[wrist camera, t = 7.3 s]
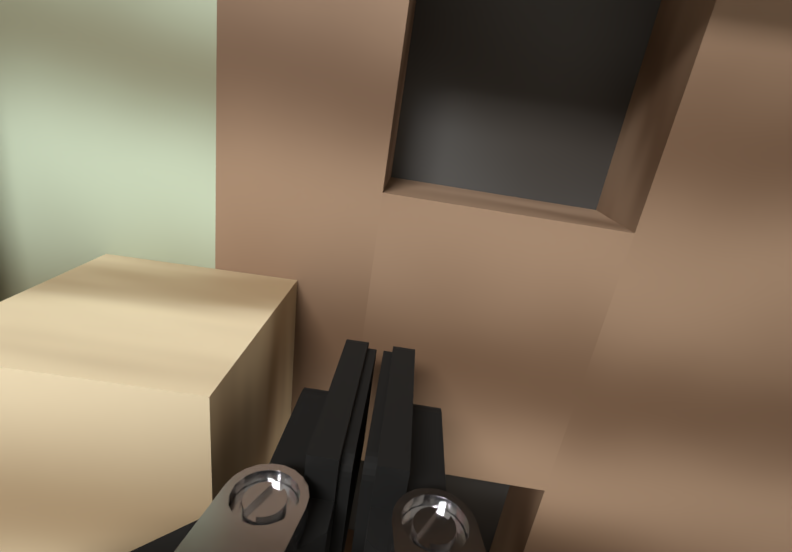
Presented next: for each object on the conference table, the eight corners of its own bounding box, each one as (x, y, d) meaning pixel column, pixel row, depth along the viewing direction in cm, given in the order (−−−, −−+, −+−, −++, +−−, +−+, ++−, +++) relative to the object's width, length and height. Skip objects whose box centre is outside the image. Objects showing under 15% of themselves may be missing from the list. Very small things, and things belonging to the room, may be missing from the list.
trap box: (-10, -183, 11) (-330, -396, 6) (1132, -5, 11) (1669, -91, 6) (80, 493, 19) (-35, 620, 14) (745, 604, 19) (852, 771, 14)
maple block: (106, 253, 12) (-110, 351, 7) (297, 279, 12) (209, 397, 7) (123, 412, 13) (-39, 576, 9) (289, 436, 13) (215, 614, 9)
